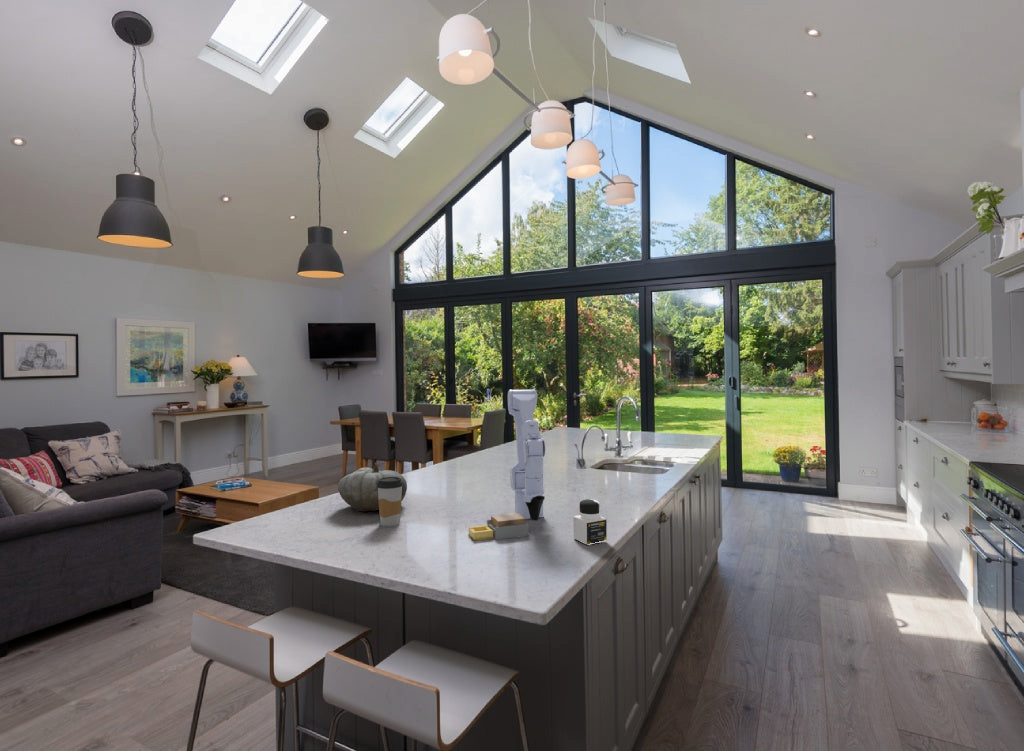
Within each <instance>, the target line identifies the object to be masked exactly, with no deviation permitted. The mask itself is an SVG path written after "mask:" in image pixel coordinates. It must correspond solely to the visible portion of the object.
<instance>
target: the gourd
mask: <svg viewBox="0 0 1024 751" xmlns="http://www.w3.org/2000/svg"><path fill="white" fill-rule="evenodd" d="M378 466H379V465H378V463H377V462H375V463H374V465H373V468H371V467H360V468H359V469H357V470H355V471H354V472H352V473H349V474H347V475H345V476H344V477H342V478H340V480H339V482H338V484H337V489H338V492H339V495H340V497H341V499H342V500H343V501H344V502H345V503H346V504H347V505H348V506H350V507H351V508H352V509H354V510H356V511H359V512H369V511H372V512H375V511H378V510H379V501H378V500H379V498H378V487H377V483H378V481H379V479H380V478H385V477H399V478H401V481H402V485H403V486H402V496H401V498H402V501H403V500H404V498H405V497H406V494H407V489H408V485H407V480H406V479H405V477H404V476H403V475H402V474H401V473H399V472H398V471H395V470H388V469H384V470H379V467H378Z"/></svg>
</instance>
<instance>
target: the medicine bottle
mask: <svg viewBox="0 0 1024 751" xmlns="http://www.w3.org/2000/svg"><path fill="white" fill-rule="evenodd" d="M607 528H608V527H607V518H605V517H604V516H601V503H600V501H598V500H597V499H590V498H589V499H588V498H587V499H583V500H581V501H580V502H579V515H573V539H574V538H575V539H577V540H579V541H582V542H584V543H586V544H590V543H595V542H599V541H604V540H607V536H608V535H607V530H608V529H607Z"/></svg>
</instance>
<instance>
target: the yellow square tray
mask: <svg viewBox="0 0 1024 751" xmlns="http://www.w3.org/2000/svg"><path fill="white" fill-rule="evenodd" d="M468 536H469V538H471V539H472V541H481V540H482V541H483V540H489V539H490V540H491V539H494V537H493V530H491V529H490V528H489V527H488V526H487V524H485V525H484V524H483V525H476V526H469V527H468Z"/></svg>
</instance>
